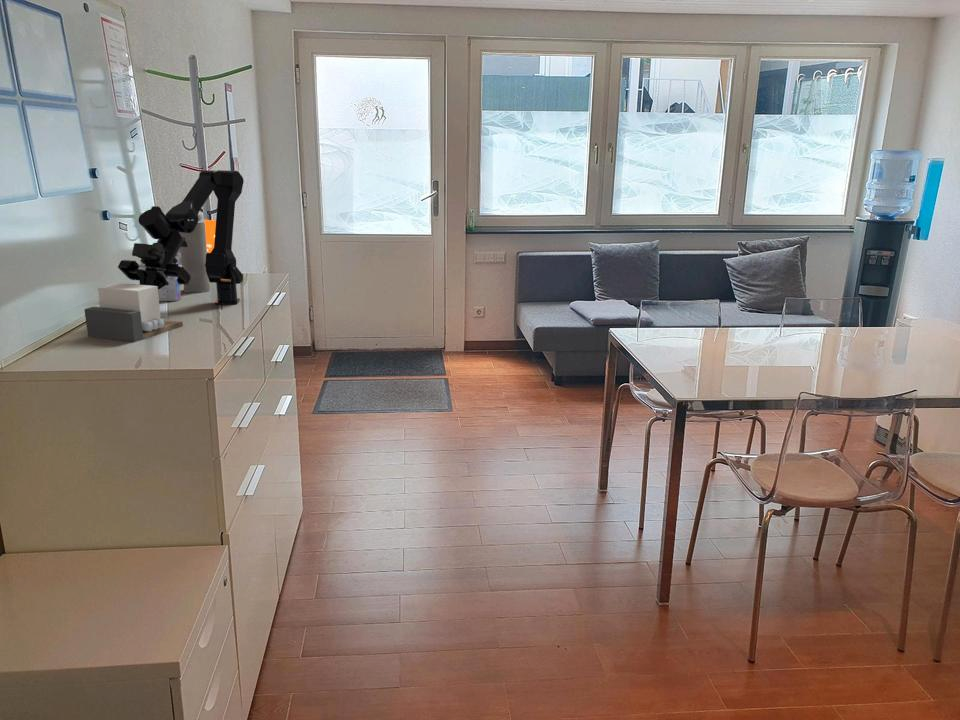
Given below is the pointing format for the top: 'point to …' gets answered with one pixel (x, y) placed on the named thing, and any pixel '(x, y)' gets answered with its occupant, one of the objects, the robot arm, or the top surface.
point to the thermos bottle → (196, 258)
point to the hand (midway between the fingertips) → (140, 298)
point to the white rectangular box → (134, 302)
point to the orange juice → (210, 234)
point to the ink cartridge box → (170, 290)
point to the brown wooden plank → (163, 328)
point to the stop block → (114, 324)
